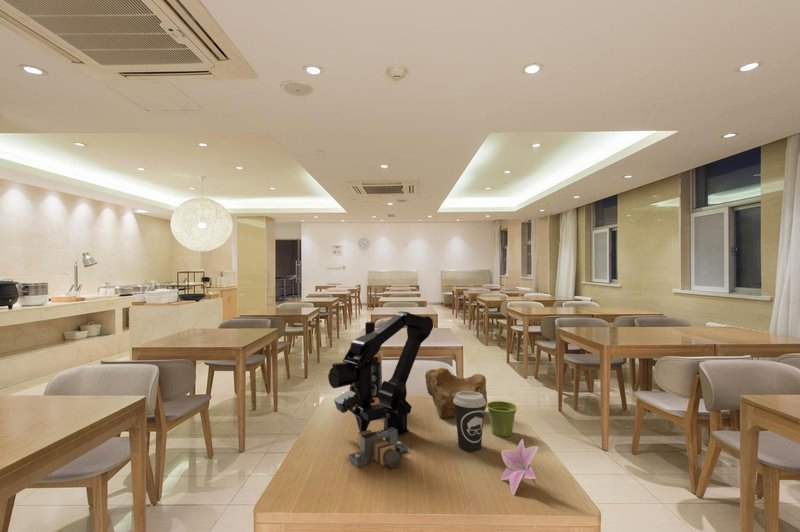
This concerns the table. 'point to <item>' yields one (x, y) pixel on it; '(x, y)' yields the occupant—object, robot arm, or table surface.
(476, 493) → the table surface
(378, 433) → the mounting bracket
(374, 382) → the whiskey bottle
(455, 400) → the coffee cup
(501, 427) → the plant pot
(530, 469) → the lily
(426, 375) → the rough brown rock
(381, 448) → the tan bar
